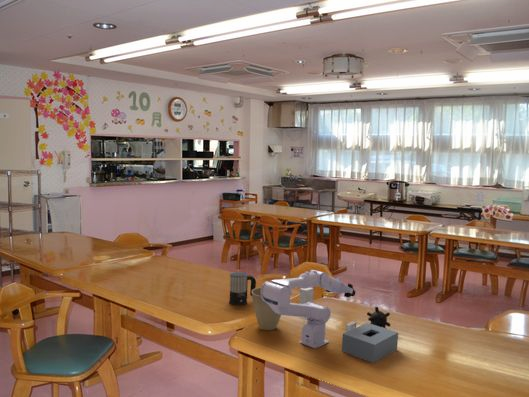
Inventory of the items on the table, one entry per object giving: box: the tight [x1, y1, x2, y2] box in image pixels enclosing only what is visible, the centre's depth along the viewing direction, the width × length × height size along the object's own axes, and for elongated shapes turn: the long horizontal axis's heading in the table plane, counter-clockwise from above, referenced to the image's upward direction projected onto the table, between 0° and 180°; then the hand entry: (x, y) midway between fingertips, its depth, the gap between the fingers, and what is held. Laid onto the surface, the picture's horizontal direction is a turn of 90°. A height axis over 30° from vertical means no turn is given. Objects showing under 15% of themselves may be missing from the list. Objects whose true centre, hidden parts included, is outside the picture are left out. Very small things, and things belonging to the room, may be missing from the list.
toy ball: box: [366, 306, 391, 328], centre depth 204 cm, size 10×10×11 cm
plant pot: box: [251, 286, 282, 331], centre depth 200 cm, size 15×15×16 cm
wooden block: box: [345, 320, 357, 332], centre depth 196 cm, size 5×2×5 cm, turn 136°
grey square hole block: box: [341, 322, 399, 364], centre depth 181 cm, size 18×14×7 cm
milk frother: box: [228, 271, 257, 306], centre depth 236 cm, size 14×16×15 cm
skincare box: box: [298, 287, 314, 304], centre depth 221 cm, size 6×4×12 cm
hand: (346, 291), depth 200 cm, fingers open, 7 cm apart
